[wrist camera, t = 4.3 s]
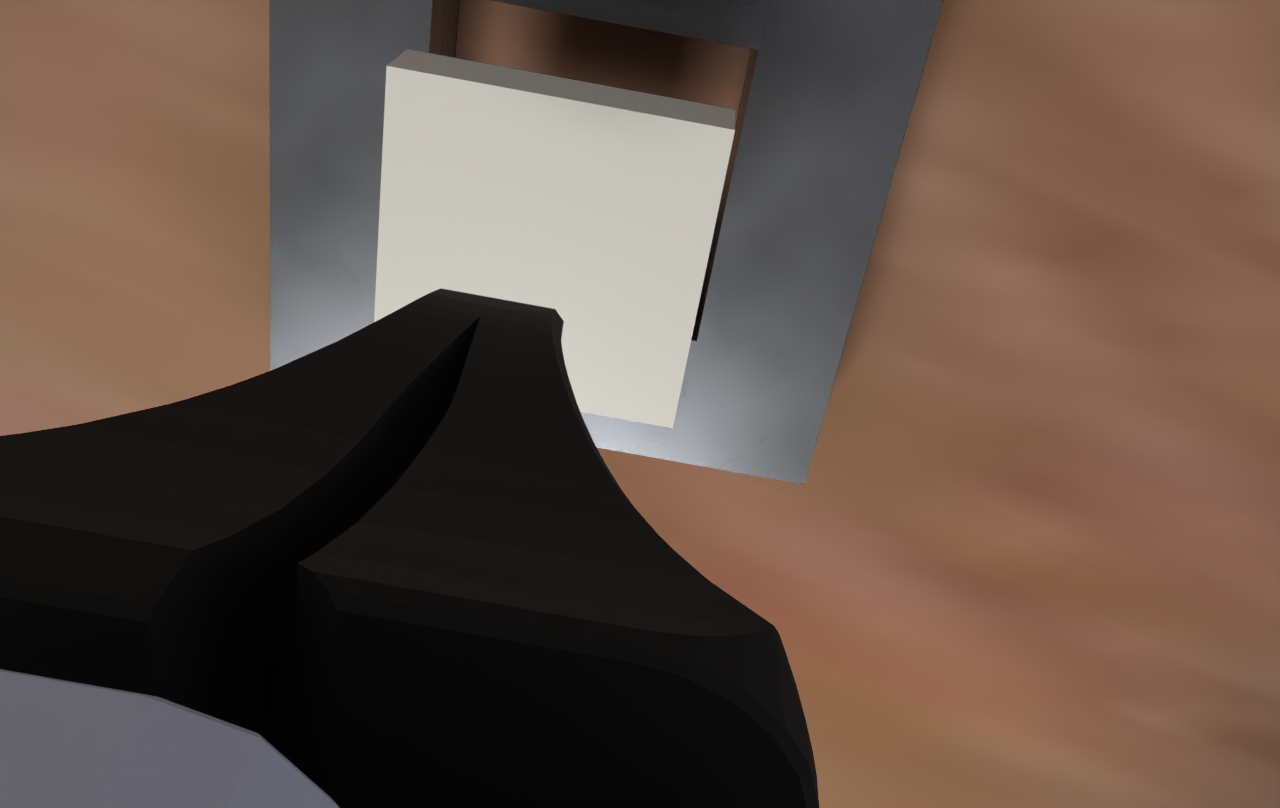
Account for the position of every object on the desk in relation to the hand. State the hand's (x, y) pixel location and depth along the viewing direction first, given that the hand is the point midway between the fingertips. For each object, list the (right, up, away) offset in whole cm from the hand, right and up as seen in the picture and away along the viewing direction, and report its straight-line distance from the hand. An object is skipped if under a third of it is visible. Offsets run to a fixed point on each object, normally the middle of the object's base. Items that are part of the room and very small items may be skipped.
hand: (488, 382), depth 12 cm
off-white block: (+1, +3, +6) cm, 7 cm away
